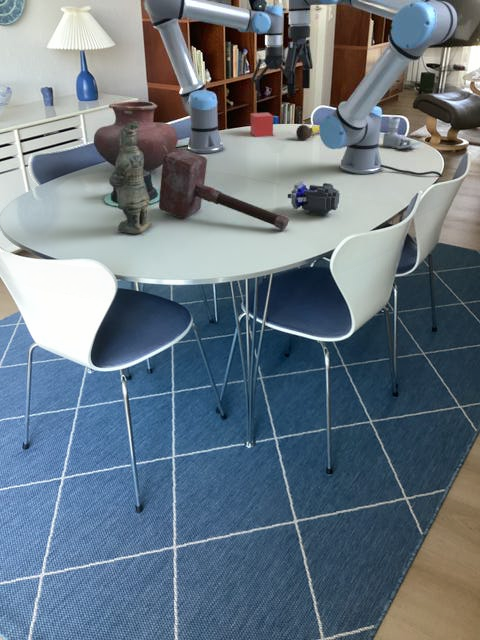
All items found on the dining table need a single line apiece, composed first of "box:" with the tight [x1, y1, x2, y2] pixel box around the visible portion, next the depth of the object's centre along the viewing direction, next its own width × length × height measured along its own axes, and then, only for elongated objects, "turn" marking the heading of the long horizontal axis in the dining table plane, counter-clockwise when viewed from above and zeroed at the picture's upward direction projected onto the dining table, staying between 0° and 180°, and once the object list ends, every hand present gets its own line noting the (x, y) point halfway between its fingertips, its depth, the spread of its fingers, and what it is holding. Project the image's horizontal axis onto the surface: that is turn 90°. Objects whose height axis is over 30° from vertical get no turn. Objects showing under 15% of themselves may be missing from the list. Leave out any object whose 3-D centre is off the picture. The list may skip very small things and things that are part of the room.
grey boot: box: [382, 116, 422, 150], centre depth 236 cm, size 9×12×15 cm
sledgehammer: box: [158, 148, 290, 231], centre depth 163 cm, size 17×10×40 cm
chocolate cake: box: [103, 169, 160, 207], centre depth 186 cm, size 15×19×20 cm
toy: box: [287, 180, 341, 216], centre depth 168 cm, size 9×9×15 cm
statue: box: [108, 121, 153, 235], centre depth 154 cm, size 11×9×30 cm
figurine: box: [295, 120, 320, 141], centre depth 261 cm, size 13×8×25 cm
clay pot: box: [93, 100, 179, 172], centre depth 208 cm, size 30×30×25 cm
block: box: [250, 111, 274, 138], centre depth 266 cm, size 9×9×9 cm
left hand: (273, 98), depth 252 cm, fingers open, 13 cm apart
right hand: (298, 90), depth 204 cm, fingers open, 13 cm apart
